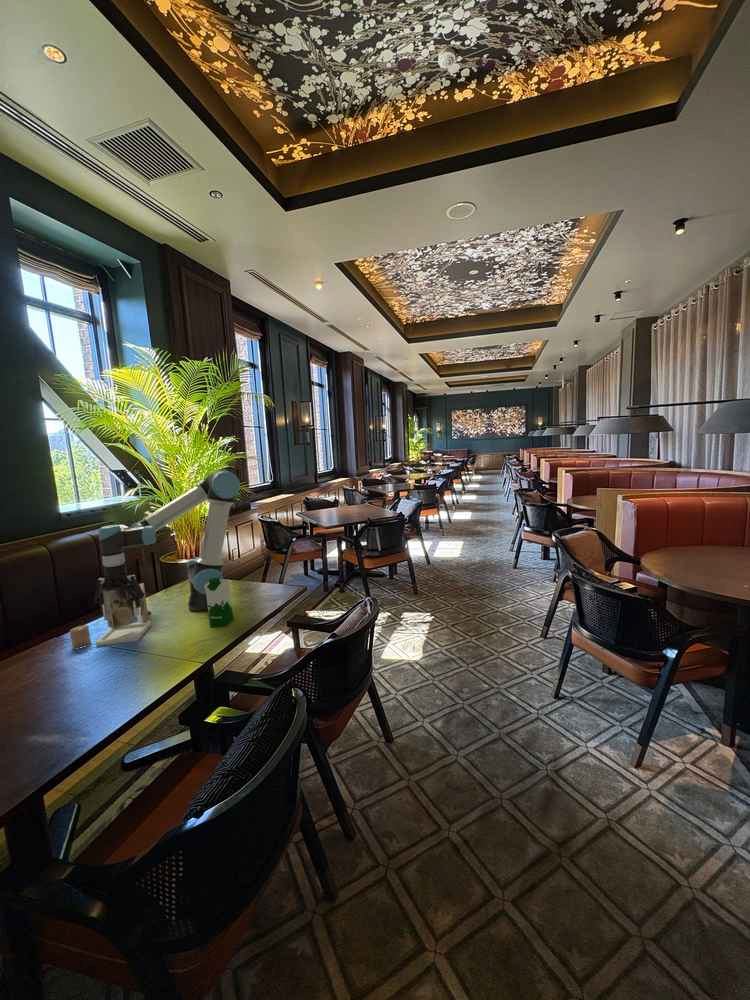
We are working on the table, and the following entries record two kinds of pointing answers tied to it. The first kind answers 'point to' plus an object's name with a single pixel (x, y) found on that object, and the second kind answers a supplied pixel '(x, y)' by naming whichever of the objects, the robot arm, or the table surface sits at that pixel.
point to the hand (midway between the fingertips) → (122, 617)
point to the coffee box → (119, 607)
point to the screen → (144, 606)
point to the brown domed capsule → (80, 636)
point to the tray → (124, 634)
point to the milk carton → (219, 602)
